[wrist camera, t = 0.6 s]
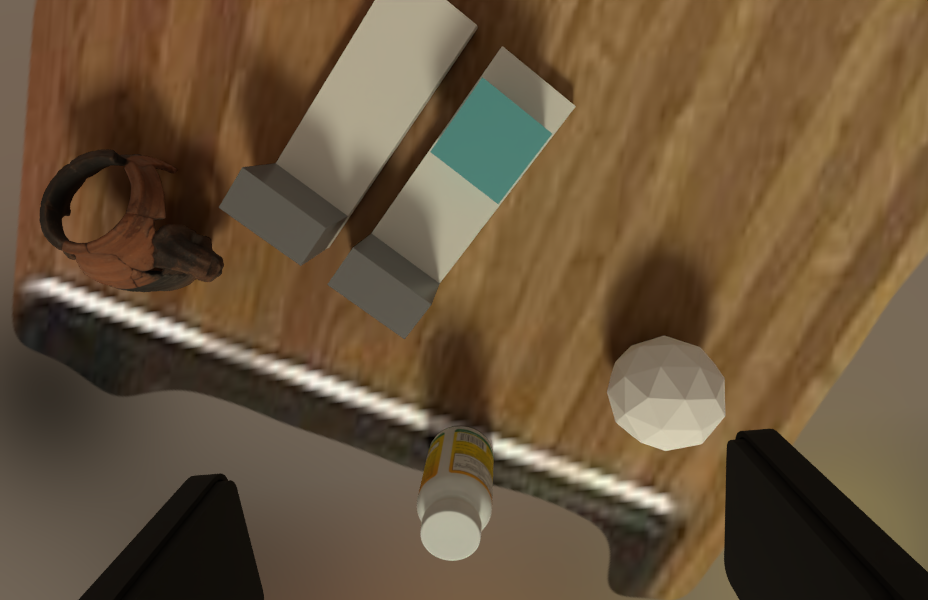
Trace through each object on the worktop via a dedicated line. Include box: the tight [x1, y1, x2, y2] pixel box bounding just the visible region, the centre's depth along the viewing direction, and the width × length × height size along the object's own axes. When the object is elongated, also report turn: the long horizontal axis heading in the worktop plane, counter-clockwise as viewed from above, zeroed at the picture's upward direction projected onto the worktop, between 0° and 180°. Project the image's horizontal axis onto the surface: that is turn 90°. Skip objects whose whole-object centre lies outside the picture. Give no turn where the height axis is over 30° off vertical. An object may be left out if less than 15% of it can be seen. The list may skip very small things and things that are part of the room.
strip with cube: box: [327, 46, 575, 339], centre depth 34 cm, size 18×6×6 cm, turn 143°
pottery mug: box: [40, 150, 224, 292], centre depth 37 cm, size 12×10×8 cm
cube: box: [430, 77, 552, 204], centre depth 33 cm, size 5×5×5 cm
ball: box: [607, 336, 725, 451], centre depth 37 cm, size 8×8×8 cm
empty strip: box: [219, 0, 477, 266], centre depth 33 cm, size 18×6×6 cm, turn 143°
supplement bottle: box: [417, 426, 493, 561], centre depth 39 cm, size 5×5×10 cm
